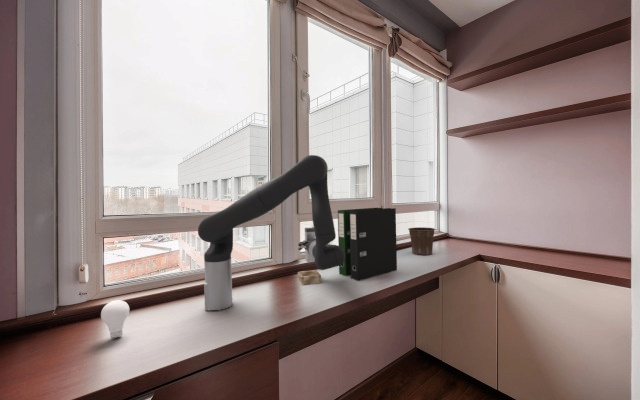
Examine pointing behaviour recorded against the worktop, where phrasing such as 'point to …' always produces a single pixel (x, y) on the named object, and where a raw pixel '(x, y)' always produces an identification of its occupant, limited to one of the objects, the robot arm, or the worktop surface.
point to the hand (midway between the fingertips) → (308, 242)
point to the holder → (309, 277)
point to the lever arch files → (367, 242)
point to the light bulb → (115, 316)
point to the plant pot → (422, 240)
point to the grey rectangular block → (309, 236)
